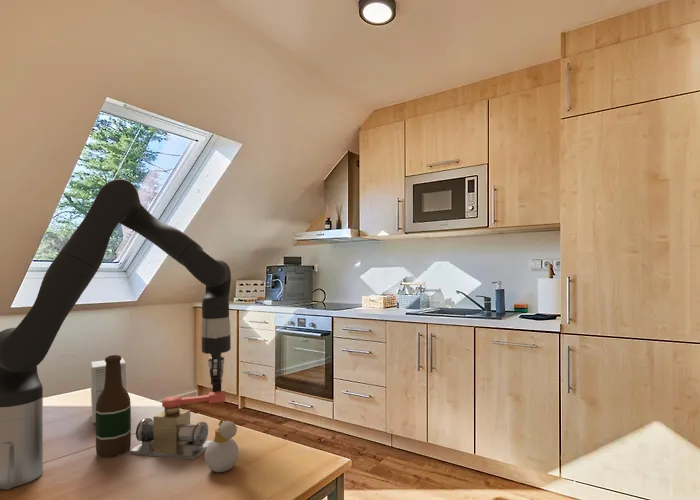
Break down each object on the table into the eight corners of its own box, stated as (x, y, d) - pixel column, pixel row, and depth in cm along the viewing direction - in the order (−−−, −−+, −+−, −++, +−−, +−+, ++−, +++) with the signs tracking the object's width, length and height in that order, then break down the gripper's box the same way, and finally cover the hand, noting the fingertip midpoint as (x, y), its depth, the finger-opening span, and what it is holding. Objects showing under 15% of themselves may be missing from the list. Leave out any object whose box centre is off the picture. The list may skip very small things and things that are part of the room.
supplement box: (124, 408, 142) (124, 357, 143) (127, 417, 134) (127, 362, 135) (90, 414, 137) (90, 361, 138) (91, 423, 129) (91, 367, 130)
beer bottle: (137, 446, 112) (137, 353, 113) (114, 459, 105) (113, 360, 106) (113, 443, 115) (112, 352, 115) (88, 456, 107) (87, 358, 108)
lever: (161, 409, 108) (161, 401, 108) (163, 403, 112) (163, 396, 112) (225, 402, 113) (225, 394, 113) (224, 397, 117) (224, 389, 117)
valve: (194, 459, 104) (193, 413, 105) (129, 453, 108) (129, 409, 108) (213, 444, 113) (213, 401, 113) (153, 439, 117) (152, 398, 117)
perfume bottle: (222, 459, 104) (222, 408, 105) (253, 468, 99) (252, 415, 100) (197, 472, 98) (196, 418, 98) (228, 483, 93) (227, 426, 93)
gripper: (203, 330, 123) (204, 391, 123) (199, 339, 110) (200, 407, 110) (231, 328, 125) (232, 389, 125) (229, 337, 112) (230, 404, 112)
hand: (217, 397), depth 117 cm, fingers closed
